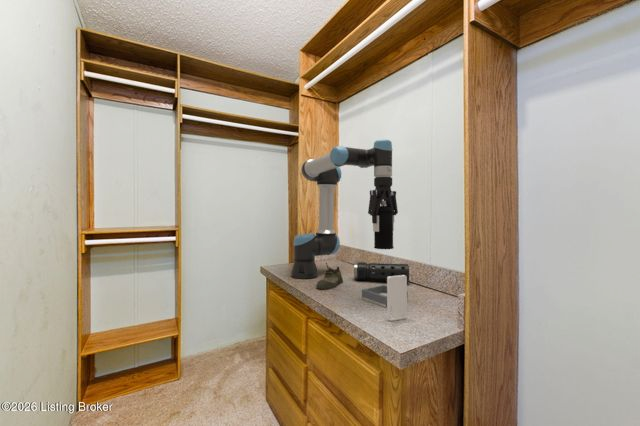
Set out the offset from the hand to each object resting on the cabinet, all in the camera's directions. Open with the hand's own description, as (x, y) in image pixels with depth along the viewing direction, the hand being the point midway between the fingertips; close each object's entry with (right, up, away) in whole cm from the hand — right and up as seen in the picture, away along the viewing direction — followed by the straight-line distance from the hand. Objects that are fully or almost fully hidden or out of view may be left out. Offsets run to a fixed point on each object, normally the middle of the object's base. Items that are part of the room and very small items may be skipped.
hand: (383, 230), depth 119 cm
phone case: (0, -30, -21) cm, 36 cm away
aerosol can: (0, -7, 0) cm, 7 cm away
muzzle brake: (+6, -30, +31) cm, 43 cm away
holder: (0, -29, 0) cm, 29 cm away
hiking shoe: (-21, -30, +22) cm, 43 cm away
